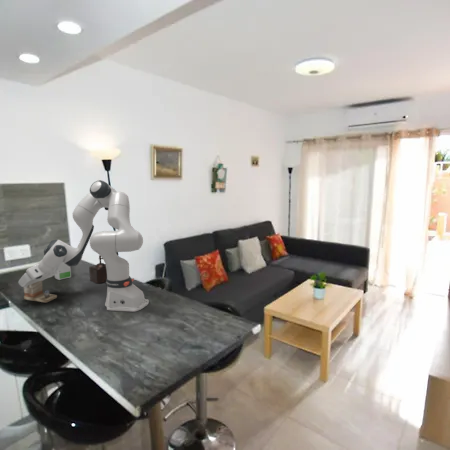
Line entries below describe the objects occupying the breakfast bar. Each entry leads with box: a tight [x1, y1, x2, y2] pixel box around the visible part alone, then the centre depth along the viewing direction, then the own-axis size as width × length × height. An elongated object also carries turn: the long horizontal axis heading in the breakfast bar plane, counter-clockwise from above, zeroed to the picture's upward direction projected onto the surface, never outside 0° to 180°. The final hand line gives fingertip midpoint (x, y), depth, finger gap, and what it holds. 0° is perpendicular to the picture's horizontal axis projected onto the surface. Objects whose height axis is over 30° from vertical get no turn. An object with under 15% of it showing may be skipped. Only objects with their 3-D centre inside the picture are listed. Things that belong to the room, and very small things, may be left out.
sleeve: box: [23, 280, 44, 298], centre depth 162 cm, size 6×6×9 cm
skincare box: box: [54, 262, 72, 281], centre depth 195 cm, size 8×7×16 cm
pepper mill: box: [89, 252, 119, 284], centre depth 193 cm, size 16×11×18 cm
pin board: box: [23, 289, 58, 304], centre depth 161 cm, size 15×7×5 cm, turn 74°
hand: (32, 284), depth 162 cm, fingers open, 7 cm apart
